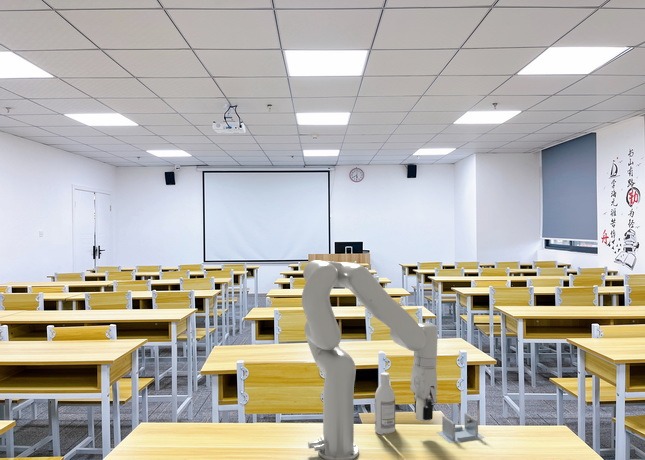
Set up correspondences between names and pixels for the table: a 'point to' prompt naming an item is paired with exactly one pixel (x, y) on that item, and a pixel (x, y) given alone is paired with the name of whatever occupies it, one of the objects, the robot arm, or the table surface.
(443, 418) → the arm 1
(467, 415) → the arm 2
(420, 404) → the roll
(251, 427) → the table surface
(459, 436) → the holder
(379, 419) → the bath foam
